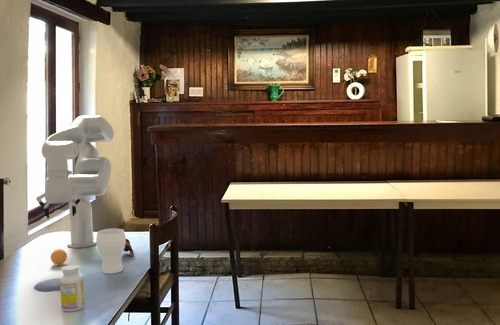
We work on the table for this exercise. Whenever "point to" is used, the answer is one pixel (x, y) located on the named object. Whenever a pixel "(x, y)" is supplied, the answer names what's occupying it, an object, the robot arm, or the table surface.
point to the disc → (48, 285)
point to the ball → (58, 256)
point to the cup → (111, 249)
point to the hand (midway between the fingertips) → (61, 216)
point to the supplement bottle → (71, 289)
